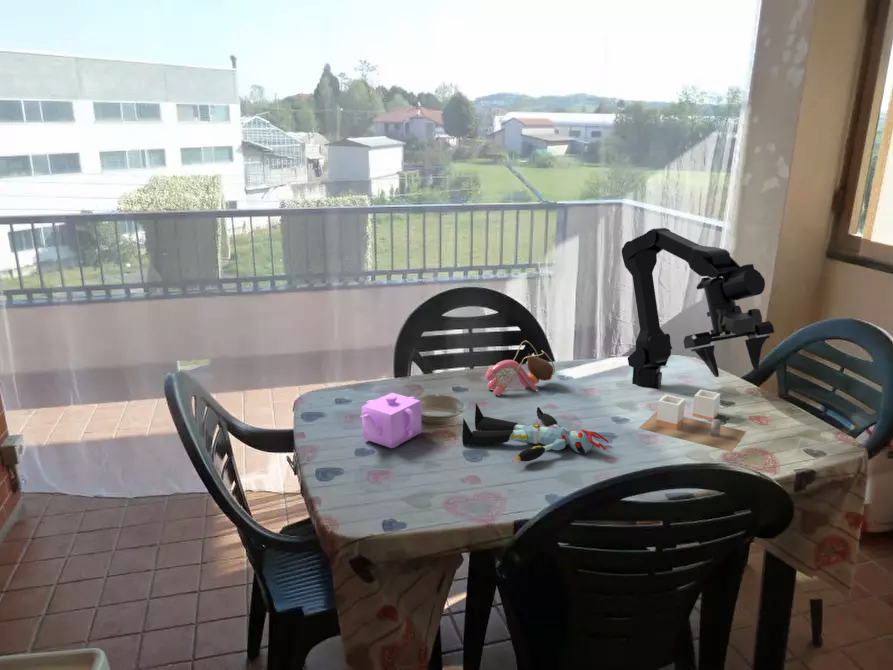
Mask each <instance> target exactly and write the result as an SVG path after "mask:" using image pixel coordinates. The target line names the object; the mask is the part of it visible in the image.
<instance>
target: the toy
mask: <svg viewBox="0 0 893 670" xmlns="http://www.w3.org/2000/svg"><path fill="white" fill-rule="evenodd" d="M536 415H537V419H538V420H540V421H541V423H542V424H543V425H544V426H541V423H538V424H532V425H531V424H530V425H523V424H519V422H516V421H509V420H504V419H500V418H495V417H494V418H493V417H491V416H484V414H483V413H482V411H481V409H480V408H479V405H478V403H475V412H474V427H475V429H476V430H471V429H470V427H469V425H468V422H466V420H465V418H464V417H463V420H462V432H461V434H462V435H461V438H462V439H461V440H462V445H463V446H468V445H470V446H471V447H472V446H473V447H487V446H488V447H489V446H495V445H500V444H504V443H508V442H509V441H520V442H521V441H524V442H526V443H530V444H534V446H533V445H532V446H530V447H527V448H525V449H523V450H521V451H520V452H519V453H518V455H517V457H515V458H514V459H512V460H511V461H512V462H515V461H519V462H523V463H524V462H525V463H526V462H531V461H534V460H536V459H538V458H540V457H541V456H543V455H544V454H545V453H546V452H547V451H549V450H553V451H561V450H563V449H566V446H567V445H570V447H571V449H572V450H573V451H574V452H575V453H578V454H582V455H584V456H585V457H587V454H586V453H589V452H590V450H591V449H592V448H593V446H595V447H596V448H598V449H601V448H602V449H603V450H604V451H606V450H607V448H606V447H605V446H603V444H602V443H601V442H598V443H597V442H595V441H594V439H593V438H594V437H595V439H602V440H603V441H604V442H606V443H609V440H608V439H606V438H605V437H604V436H603V435H601V434H599V433H597V432H596V431H589V430H585V429H580V430H578V429H575V430H572V431H571V430H569V429H568V428H566V427H564V426H559V425H558V422H557V419H555V417H554V416H552V415H550V414H548V413H543V411H542V409H541V408H540V407H537V408H536ZM480 430H481V431H480ZM539 443H540V444H542V445H543V446H542V445H536V444H539Z"/></svg>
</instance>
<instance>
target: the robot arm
mask: <svg viewBox="0 0 893 670" xmlns="http://www.w3.org/2000/svg"><path fill="white" fill-rule="evenodd" d="M662 251H666V252H667V253H670V254H672V255H673V256H674V257H675V256H676V257H678V258H679V259H681V260H683V261H685V262H686V263H687V264H688V267H689V268H690V269H691V270H692V271H693V272H694V273H696V274H697V275H698V276H700V277H702V278H701V279H700V281H699V283H698V284H697V286H696V290H704V294H705V299H706V304H707V308H708V311H706V315H707V317H710V322H711V325H712V327H711V328H712V329H710V332H709V331H706V332H705V331H704V332H700V333H699V332H698V333H693V334H690V335H689V334H688V335H686V336H685V337H684V338H683V346H684V349H685V350H686V349H690V351H691V352H695V353H696V354H697V356H699V358H700V359H701V360H702V361H703V362H704V364H705V365H706V366H707V368H708V369H709V370H710V372H711V373H712V375H713V376H714V377H715V378H719V376H720V375H719V368H718V364H717V360H716V357H715V346H716V345H715V344H714V345H711V343H713V342H719V341H725V340H730V339H736V338H742V337H746V338H748V339H744V342H745V347H746V349H747V352H748V356H749V359H750V363H751V366H752V367H753V370H754V371H756V370H759V367H760V360H761V359H760V358H761V353H762V350H763V345H764V343H765V342H766V340H767V339H770V338H771V334H774V333H775V334H776V331H775V330H776V329H775V326H774V323H772V322H771V321H770V320H768V321H763V317H762V313H761V309H760V308H759V309H758V308H751V309H747V312H743V311H742V309H741V307H740V305H737V304H736V303H737V302H736V301H740V300H744V299H748V298H751V297H755V296H759V295H761V294H762V293H763V292H765V291H764V290H765V288H766V282H765V278H764V276H763V275H762V274H761V272H760V271H758V270H757V269H756V268H755V266H754V264H753V263H749V264H744V265H739V263H737V261H736V260H734V258H733V257H731V253H730V252H729V251H728V250H727V249H725V248H720V247H717V246H715V247H714V246H706V245H700V244H699V243H696V242H694V241H692V240H689V239H688V238H686V237H683V236H681V235H679V234H677V233H675V232H673V231H671V230H670V229H669V228H667V227H660V228H652V229H650V230H648V231H647V232H646V233H644V234H642V235H639V236H638V237H635V238H633V239H632V240H628V241H626V242H625V243H624V245H623V247H622V248H621V257H622V260H623V263H624V268H625V269H626V270H627V272H628V273H630V275H631V276H632V283H633V290H634V295H635V303H636V304H635V305H636V310H637V317H638V324H639V333H638V335H637V338H636V339H635V350H634V351H633V352H632V353H631V354H630V355H629V356H627V362H628V366H629V367H631V368H632V369H633V370H632V380H631V381H632V382H631V384H632V385H636V386H637V387H641V388H646V389H647V388H648V389H656V390H659V389H660V388H662V380H663V379H662V378H663V377H662V376H663V372H662V371H661V367H665V366H667V364H668V360H669V358H670V357H671V355H672V350H673V347H672V343H671V335H670V334H669V333H665V332H664V331H663V330H662V328H661V324H660V318H659V311H658V304H657V297H656V290H655V283H654V282H655V281H654V275H653V273H654V270H655V267H656V264H657V262H658V260H657V259H658V257H657V255H658V254H659V253H660V252H662ZM723 333H724V334H723ZM691 348H693V349H691Z"/></svg>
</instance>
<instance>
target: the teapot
mask: <svg viewBox="0 0 893 670" xmlns="http://www.w3.org/2000/svg"><path fill="white" fill-rule="evenodd" d="M359 417H360V418H361V421H362V438H364V439H363V440H366V439H367V440H366V441H370V442H371V443H375V444H377V445H380V446H384V447H386V448H390V449H394V448H397V447H398V446H399V445H401V444H403V443H405V442H407V441H408V440H412V439H413V438H415V437H416V436H417V435H419V434H421V433H423V432H422V430H423V429H422V401H421V400H420V399H417V397H415V396H406V395H402V394H398V393H394V392H389V393H388V394H385V395H383V396H382V397H379V398H376V399H369V400H367V401H366V404H364V405H362V406H361V415H360V416H359ZM411 438H412V439H411ZM396 446H397V447H396Z"/></svg>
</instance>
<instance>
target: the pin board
mask: <svg viewBox="0 0 893 670" xmlns="http://www.w3.org/2000/svg"><path fill="white" fill-rule="evenodd" d="M656 420H657V411H655V412H654V413H653V414H652V415H651V416H650V417H649V418H648V419H647V420H645V422H644V423H642V424H641V425H640V426H639V427H638V429H639V430H643V431H648V432H652V433H655V434H659V435H663V436H667V437H671V438H675V439H679V440H683V441H688V442H692V443H695V444H699V445H702V446H703V445H704V446H708V447H711V448H714V449H720V450H724V451H727V452H730V453H731V452H732V451H733V450H734V449H735V447H736V446H737V445H738V444H739V442H740V441H741V439H742V438H743V436H744V435H745V434H746V432H747V431H746V430H742V429H738V428H733V427H729V426H724V425H722V424H721V423H722V421H721V419H718V418H715V419H713V420H712V421H711V422H706V421H704V420H699V419H694V418H690V417H685V416H684V419H683V424H682V425H681V426H680V427H679V428H678V429H677V430H673V429H669V428H665V427H661V426H656Z"/></svg>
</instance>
